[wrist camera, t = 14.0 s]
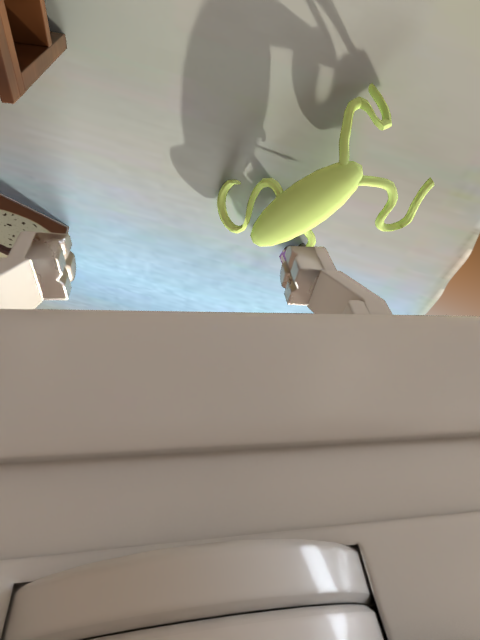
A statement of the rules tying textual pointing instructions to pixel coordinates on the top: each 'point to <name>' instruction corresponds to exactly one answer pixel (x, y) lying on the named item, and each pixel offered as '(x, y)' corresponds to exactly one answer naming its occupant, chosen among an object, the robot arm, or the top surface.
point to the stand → (25, 46)
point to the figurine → (320, 191)
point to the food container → (22, 223)
